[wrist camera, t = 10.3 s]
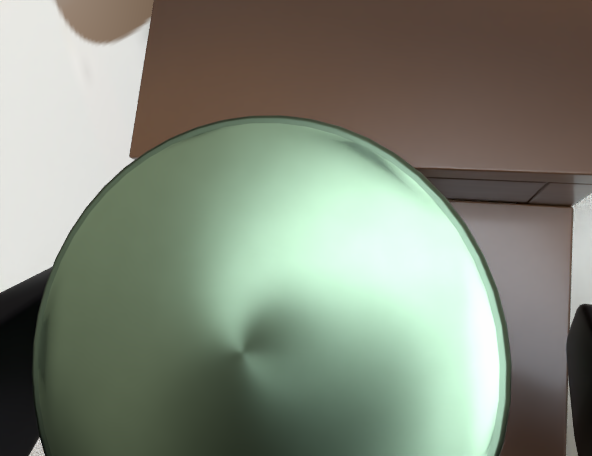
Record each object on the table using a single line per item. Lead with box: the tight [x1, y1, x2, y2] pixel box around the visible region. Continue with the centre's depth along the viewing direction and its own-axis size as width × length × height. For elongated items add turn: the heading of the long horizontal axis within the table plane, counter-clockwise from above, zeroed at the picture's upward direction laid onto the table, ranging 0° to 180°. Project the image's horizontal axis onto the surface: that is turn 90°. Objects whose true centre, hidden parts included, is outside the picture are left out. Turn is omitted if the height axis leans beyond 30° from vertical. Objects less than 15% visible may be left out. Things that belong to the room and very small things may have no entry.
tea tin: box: [32, 115, 512, 456], centre depth 10 cm, size 6×6×9 cm
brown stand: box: [129, 0, 592, 456], centre depth 14 cm, size 16×12×5 cm
